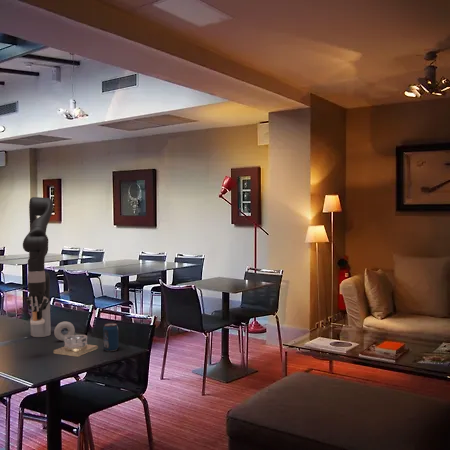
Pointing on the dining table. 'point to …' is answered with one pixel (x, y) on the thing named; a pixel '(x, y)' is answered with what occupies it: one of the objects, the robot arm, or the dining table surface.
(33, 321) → the orange block with base
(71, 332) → the donut
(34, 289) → the robot arm
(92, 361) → the dining table surface
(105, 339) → the soda can
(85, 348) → the candle holder
